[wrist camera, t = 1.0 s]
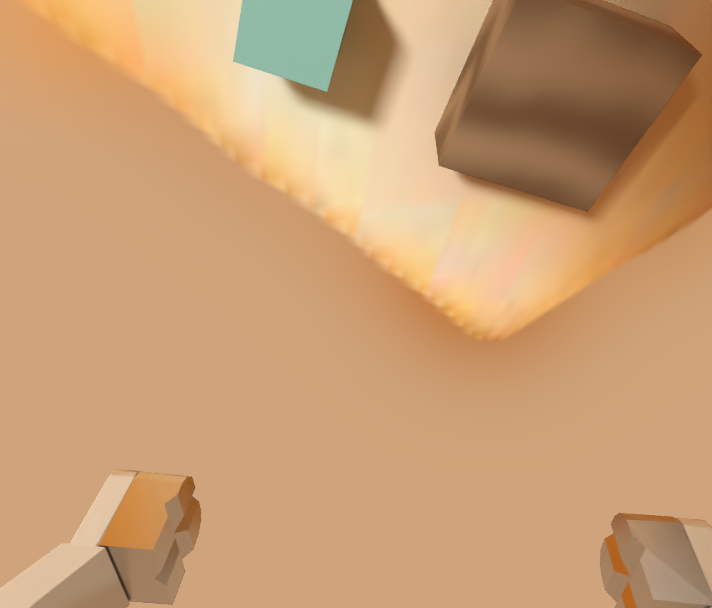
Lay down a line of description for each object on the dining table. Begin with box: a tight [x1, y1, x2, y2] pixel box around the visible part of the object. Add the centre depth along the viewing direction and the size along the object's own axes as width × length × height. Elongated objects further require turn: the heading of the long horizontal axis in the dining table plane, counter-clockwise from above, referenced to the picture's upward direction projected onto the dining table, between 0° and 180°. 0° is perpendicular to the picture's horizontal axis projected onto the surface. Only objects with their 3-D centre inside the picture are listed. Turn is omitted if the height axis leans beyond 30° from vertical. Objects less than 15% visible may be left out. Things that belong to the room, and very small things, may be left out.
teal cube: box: [233, 0, 353, 92], centre depth 35 cm, size 6×6×6 cm
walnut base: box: [435, 0, 702, 212], centre depth 38 cm, size 12×12×5 cm
